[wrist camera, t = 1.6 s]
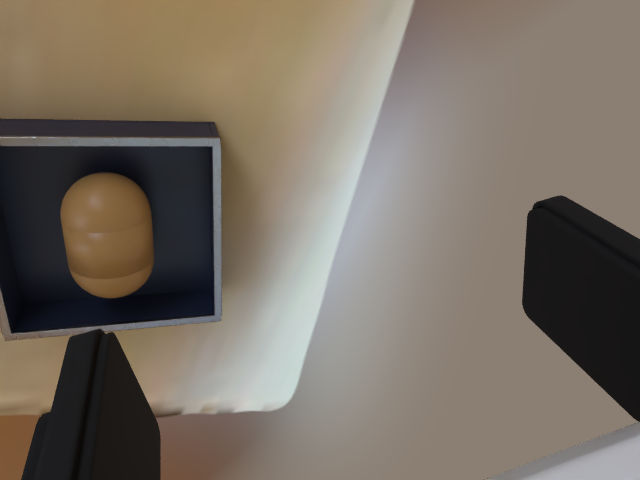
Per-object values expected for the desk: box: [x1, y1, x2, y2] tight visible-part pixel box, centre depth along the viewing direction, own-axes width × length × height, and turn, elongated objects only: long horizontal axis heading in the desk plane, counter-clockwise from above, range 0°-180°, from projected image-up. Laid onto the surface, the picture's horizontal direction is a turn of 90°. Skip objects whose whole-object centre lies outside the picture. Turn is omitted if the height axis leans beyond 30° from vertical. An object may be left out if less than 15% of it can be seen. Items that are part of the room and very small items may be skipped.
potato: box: [60, 172, 154, 298], centre depth 31 cm, size 5×8×5 cm, turn 175°
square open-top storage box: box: [0, 119, 222, 341], centre depth 32 cm, size 13×13×4 cm
